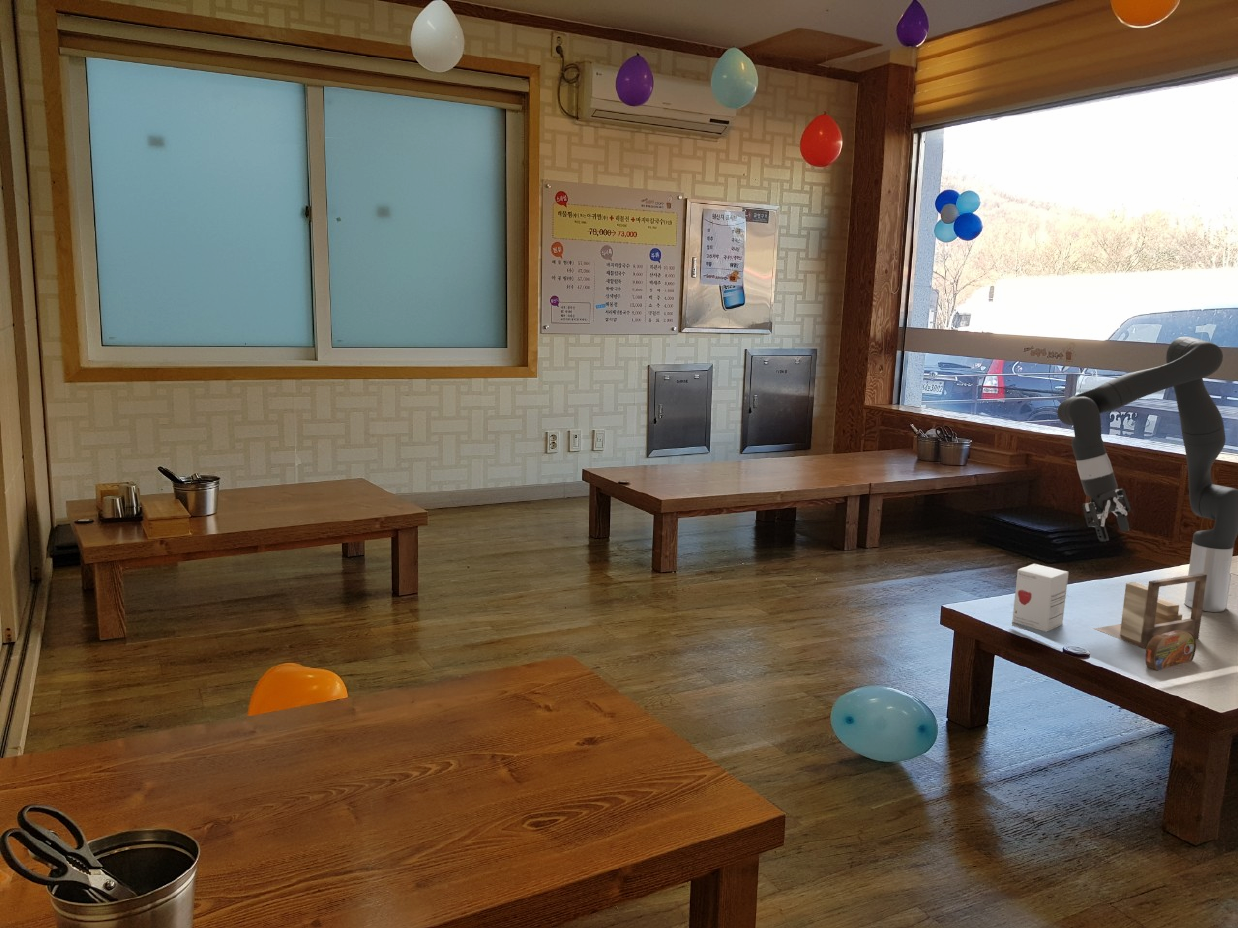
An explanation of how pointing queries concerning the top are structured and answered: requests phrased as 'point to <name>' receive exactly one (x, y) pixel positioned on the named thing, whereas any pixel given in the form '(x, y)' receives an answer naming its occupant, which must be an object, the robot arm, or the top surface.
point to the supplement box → (1040, 597)
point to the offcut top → (1167, 607)
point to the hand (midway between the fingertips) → (1115, 535)
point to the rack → (1151, 606)
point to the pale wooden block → (1134, 611)
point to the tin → (1170, 649)
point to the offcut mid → (1167, 618)
